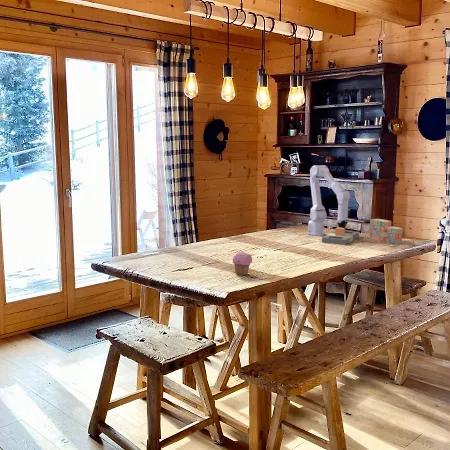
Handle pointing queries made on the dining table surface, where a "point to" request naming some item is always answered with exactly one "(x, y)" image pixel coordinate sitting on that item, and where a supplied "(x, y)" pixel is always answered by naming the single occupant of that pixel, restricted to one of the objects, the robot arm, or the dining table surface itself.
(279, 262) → the dining table surface
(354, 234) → the trap deck
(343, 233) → the block
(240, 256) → the cupcake
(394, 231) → the stack of blocks
